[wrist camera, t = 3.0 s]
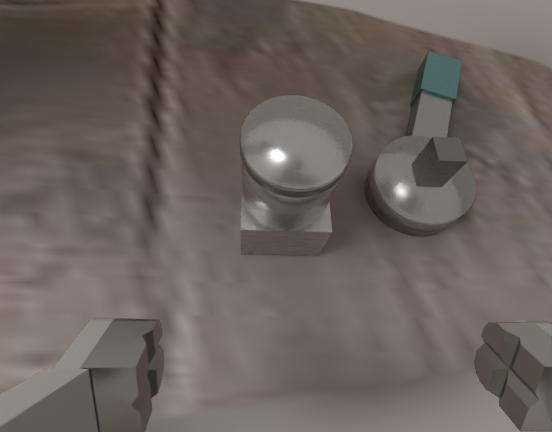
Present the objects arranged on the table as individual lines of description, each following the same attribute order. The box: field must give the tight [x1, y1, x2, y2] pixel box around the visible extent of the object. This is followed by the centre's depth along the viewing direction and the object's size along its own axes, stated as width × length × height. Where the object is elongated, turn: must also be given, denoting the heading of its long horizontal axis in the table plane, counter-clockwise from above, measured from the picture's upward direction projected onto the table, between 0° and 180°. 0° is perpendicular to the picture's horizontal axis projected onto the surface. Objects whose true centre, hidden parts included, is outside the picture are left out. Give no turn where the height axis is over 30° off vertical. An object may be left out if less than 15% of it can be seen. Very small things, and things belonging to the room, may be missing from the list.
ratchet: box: [365, 51, 476, 236], centre depth 25 cm, size 18×7×6 cm, turn 160°
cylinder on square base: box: [240, 95, 352, 256], centre depth 20 cm, size 5×5×9 cm
